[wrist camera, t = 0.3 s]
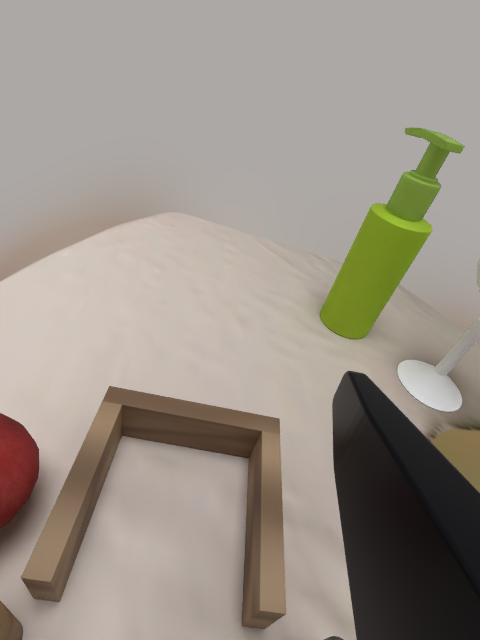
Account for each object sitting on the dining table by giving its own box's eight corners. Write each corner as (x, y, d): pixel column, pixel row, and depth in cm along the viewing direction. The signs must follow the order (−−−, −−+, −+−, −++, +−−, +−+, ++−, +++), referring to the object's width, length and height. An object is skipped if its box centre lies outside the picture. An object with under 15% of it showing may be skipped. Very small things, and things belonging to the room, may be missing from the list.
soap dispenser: (349, 301, 44) (440, 130, 31) (377, 338, 39) (499, 153, 26) (308, 299, 42) (389, 117, 29) (333, 339, 37) (442, 140, 25)
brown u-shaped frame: (264, 692, 16) (296, 683, 13) (-24, 660, 14) (-57, 643, 12) (265, 445, 25) (283, 410, 22) (93, 414, 24) (89, 372, 21)
